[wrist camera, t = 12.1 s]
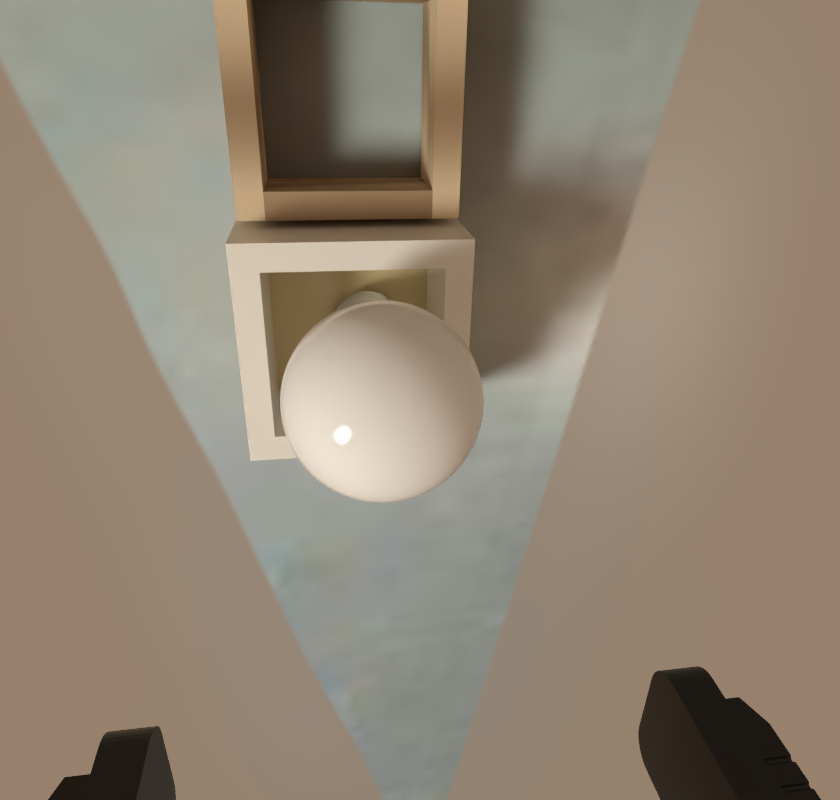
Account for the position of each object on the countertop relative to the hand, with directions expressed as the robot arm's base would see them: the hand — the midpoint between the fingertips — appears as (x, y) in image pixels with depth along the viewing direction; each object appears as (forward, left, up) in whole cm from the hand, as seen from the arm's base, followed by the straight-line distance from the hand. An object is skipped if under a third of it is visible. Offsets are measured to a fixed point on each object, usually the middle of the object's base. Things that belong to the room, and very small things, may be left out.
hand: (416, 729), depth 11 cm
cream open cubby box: (0, 0, -20) cm, 20 cm away
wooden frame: (-8, 0, -20) cm, 22 cm away
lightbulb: (0, +1, -20) cm, 20 cm away
